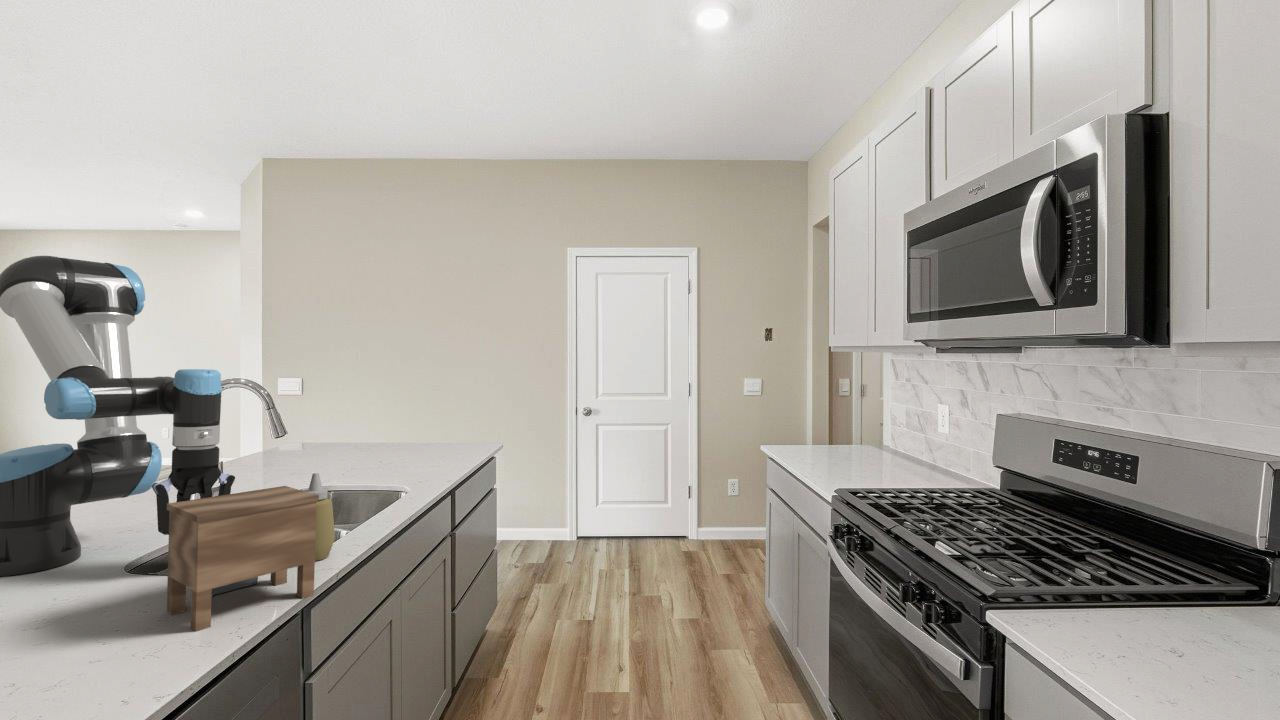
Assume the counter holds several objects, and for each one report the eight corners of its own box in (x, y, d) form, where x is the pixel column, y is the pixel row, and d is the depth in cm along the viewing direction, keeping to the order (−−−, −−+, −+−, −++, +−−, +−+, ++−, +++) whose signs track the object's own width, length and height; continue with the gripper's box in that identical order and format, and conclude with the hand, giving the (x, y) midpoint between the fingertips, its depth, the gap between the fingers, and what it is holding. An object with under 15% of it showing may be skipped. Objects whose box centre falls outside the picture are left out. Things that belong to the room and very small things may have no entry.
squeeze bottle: (315, 565, 121) (318, 478, 121) (282, 562, 123) (284, 476, 123) (343, 553, 129) (345, 471, 129) (311, 550, 130) (313, 469, 131)
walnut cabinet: (163, 611, 98) (166, 503, 98) (282, 579, 113) (285, 485, 113) (194, 632, 91) (197, 516, 91) (316, 594, 106) (318, 495, 106)
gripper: (151, 453, 108) (147, 581, 108) (251, 444, 122) (247, 557, 122) (137, 449, 112) (133, 571, 112) (235, 440, 126) (231, 550, 126)
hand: (192, 564), depth 117 cm, fingers closed on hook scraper, 3 cm apart
